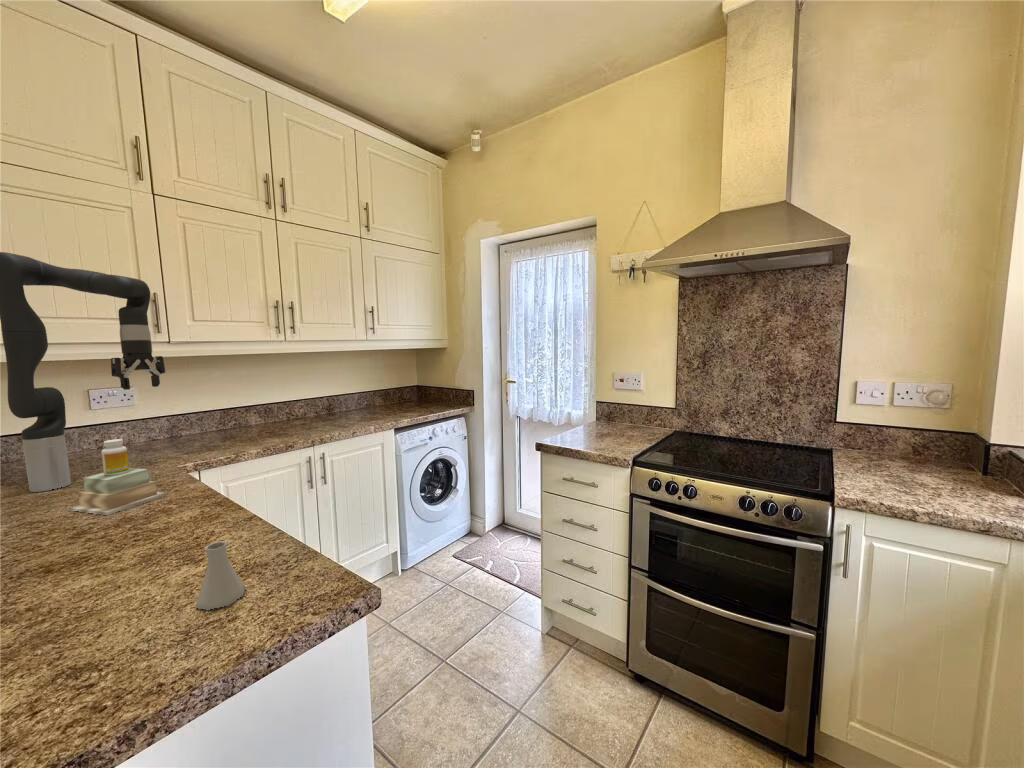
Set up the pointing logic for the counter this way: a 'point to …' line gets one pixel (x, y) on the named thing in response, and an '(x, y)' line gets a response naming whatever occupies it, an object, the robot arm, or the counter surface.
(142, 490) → the soap dish
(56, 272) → the robot arm
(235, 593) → the flask
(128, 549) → the counter surface
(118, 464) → the supplement bottle
